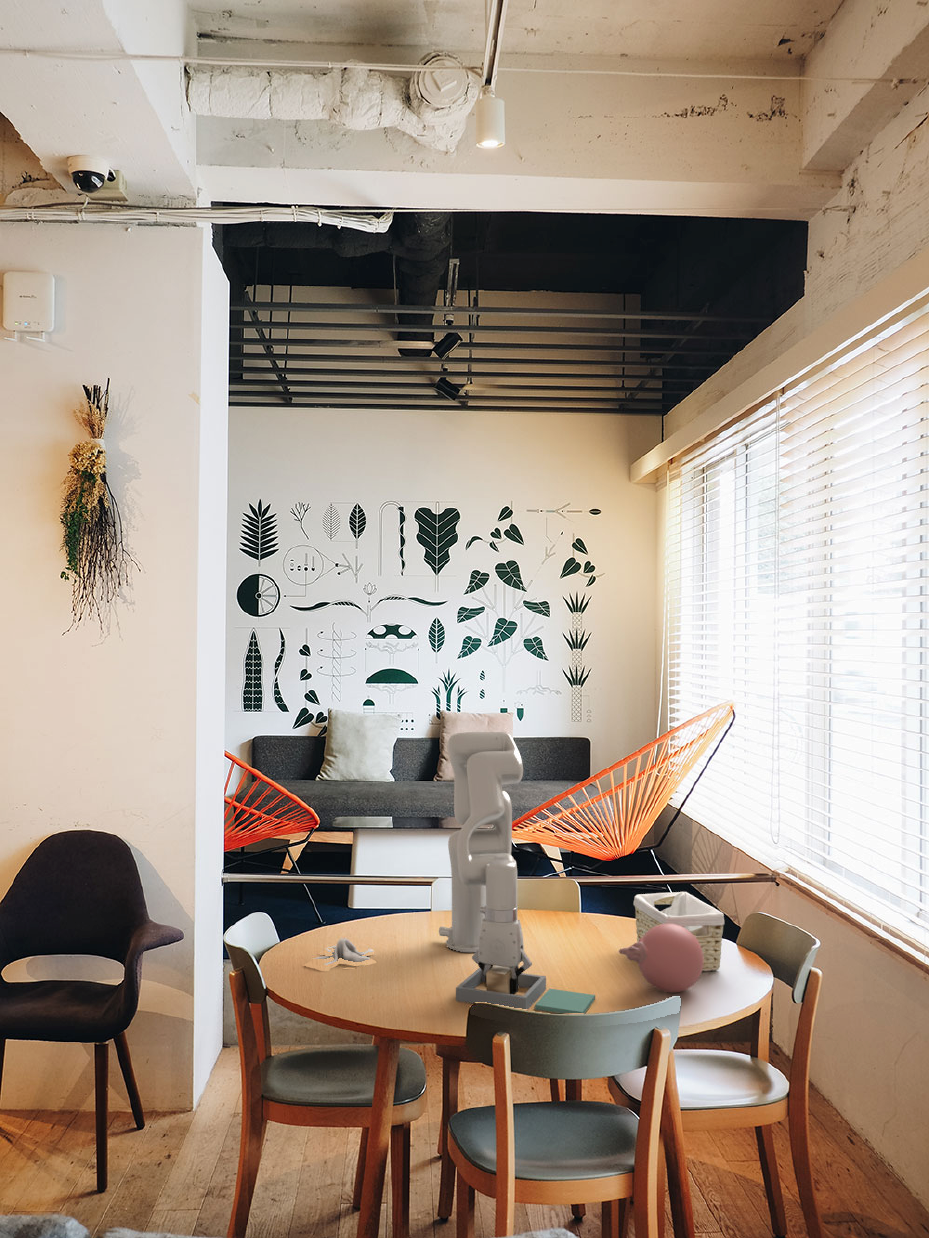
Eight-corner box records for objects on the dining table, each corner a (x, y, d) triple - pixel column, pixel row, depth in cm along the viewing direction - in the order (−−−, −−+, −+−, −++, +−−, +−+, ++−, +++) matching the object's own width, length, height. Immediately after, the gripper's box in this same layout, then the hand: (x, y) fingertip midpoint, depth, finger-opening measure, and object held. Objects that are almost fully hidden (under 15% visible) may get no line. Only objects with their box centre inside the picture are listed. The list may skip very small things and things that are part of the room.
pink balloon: (613, 979, 225) (612, 915, 226) (694, 978, 225) (693, 915, 226) (624, 1002, 210) (624, 934, 210) (711, 1002, 210) (710, 934, 211)
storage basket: (631, 947, 250) (631, 892, 251) (687, 943, 253) (686, 889, 254) (666, 977, 227) (666, 917, 227) (727, 973, 230) (726, 913, 230)
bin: (456, 1000, 211) (455, 987, 211) (479, 979, 225) (479, 967, 225) (525, 1011, 205) (525, 997, 205) (546, 989, 218) (546, 976, 219)
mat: (535, 1009, 206) (535, 1004, 206) (549, 992, 216) (549, 988, 216) (582, 1016, 202) (582, 1011, 202) (595, 999, 212) (595, 994, 212)
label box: (486, 998, 213) (486, 971, 213) (497, 988, 219) (496, 962, 219) (506, 1001, 211) (506, 974, 211) (516, 991, 217) (516, 964, 217)
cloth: (298, 974, 231) (298, 949, 231) (311, 951, 249) (312, 928, 250) (386, 975, 230) (386, 950, 231) (393, 951, 249) (393, 928, 249)
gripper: (461, 914, 215) (462, 993, 215) (530, 922, 209) (531, 1003, 208) (473, 906, 222) (474, 982, 222) (540, 913, 216) (541, 992, 215)
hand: (501, 991), depth 215 cm, fingers closed on label box, 5 cm apart
